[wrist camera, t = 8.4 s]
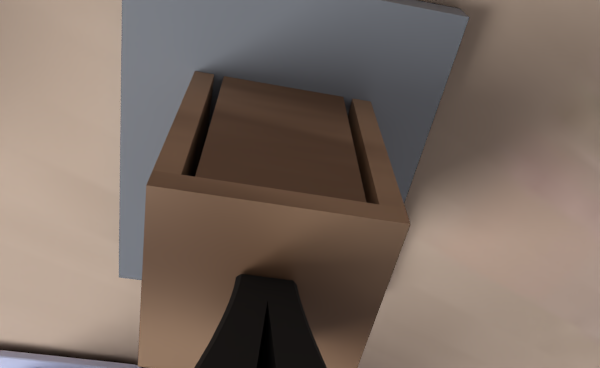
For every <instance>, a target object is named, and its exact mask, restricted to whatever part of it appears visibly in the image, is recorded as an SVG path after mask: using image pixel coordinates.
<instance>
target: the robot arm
mask: <svg viewBox="0 0 600 368" xmlns="http://www.w3.org/2000/svg"><path fill="white" fill-rule="evenodd" d="M0 368H141V367H139V366H138V365H135V364H127V363H117V362H108V361H99V360H89V359H80V358H71V357H61V356H52V355H43V354H34V353H24V352H15V351H6V350H0ZM194 368H327V367H326V364H325V362H324V360H323V358H322V355H321V353H320V351H319V348H318V346H317V344H316V341H315V339H314V337H313V334H312V331H311V329H310V326H309V323H308V321H307V318H306V315H305V312H304V309H303V306H302V303H301V299H300V296H299V292H298V288H297V285H296V283H295V282H294V281H293V280H285V279H277V278H270V277H262V276H254V275H246V274H240V275H238V276H237V277H236V279H235V284H234V288H233V291H232V294H231V297H230V300H229V303H228V305H227V307H226V310H225V312H224V314H223V317H222V319H221V321H220V323H219V325H218V327H217V328H216V330H215V332H214V334H213V336H212V338H211V340H210V342H209V344H208V346H207V347H206V349H205V351H204V352H203V354H202V356H201V357H200V359H199V361H198V362H197V364H196V366H195V367H194Z"/></svg>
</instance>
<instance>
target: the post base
mask: <svg viewBox="0 0 600 368" xmlns="http://www.w3.org/2000/svg"><path fill="white" fill-rule="evenodd" d="M468 20H469V16H467V15H466V14H465V13H464V12H463V11H462V10H461V9H459V8H454V7H449V6H444V5H439V4H433V3H428V2H423V1H418V0H122V51H121V137H120V222H119V277H121V278H129V279H137V280H142V265H143V244H144V222H145V201H146V185H147V182H148V180H149V178H150V175H151V173H152V170H153V168H154V166H155V163H156V161H157V159H158V156H159V154H160V152H161V149H162V147H163V145H164V142H165V140H166V138H167V135H168V133H169V131H170V128H171V126H172V123H173V121H174V119H175V116H176V114H177V112H178V109H179V107H180V105H181V102H182V100H183V98H184V95H185V93H186V91H187V88H188V86H189V84H190V81H191V79H192V76H193V74H194V72H195V71H198V72H203V73H209V74H214V82H213V91H212V100H211V109H210V118H209V127H210V123H211V120H212V116H213V113H214V109H215V106H216V102H217V99H218V95H219V92H220V88H221V85H222V81H223V78H224V76H226V77H232V78H238V79H244V80H249V81H255V82H261V83H267V84H272V85H278V86H284V87H290V88H295V89H301V90H307V91H313V92H318V93H324V94H330V95H336V96H341V97H343V98H344V102H345V107H346V111H347V116H348V114H349V110H350V106H351V102H352V98H353V99H359V100H365V101H370V102H371V104H372V107H373V110H374V113H375V116H376V119H377V123H378V126H379V129H380V132H381V135H382V138H383V141H384V144H385V147H386V150H387V153H388V156H389V160H390V163H391V166H392V169H393V172H394V175H395V178H396V181H397V184H398V187H399V190H400V194H401V197H402V200H403V203H404V202H405V199H406V197H407V194H408V191H409V188H410V185H411V182H412V179H413V177H414V174H415V171H416V168H417V165H418V162H419V159H420V157H421V154H422V151H423V148H424V145H425V142H426V140H427V137H428V134H429V131H430V128H431V125H432V122H433V120H434V117H435V114H436V111H437V108H438V105H439V102H440V100H441V97H442V94H443V91H444V88H445V85H446V82H447V80H448V77H449V74H450V71H451V68H452V65H453V62H454V60H455V57H456V54H457V51H458V48H459V45H460V42H461V40H462V37H463V34H464V31H465V28H466V25H467V23H468ZM209 127H208V130H209Z"/></svg>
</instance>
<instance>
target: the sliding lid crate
mask: <svg viewBox="0 0 600 368" xmlns="http://www.w3.org/2000/svg"><path fill="white" fill-rule="evenodd" d="M213 82H214V74H209V73H203V72H198V71H195V72H194V74H193V76H192V79H191V81H190V84H189V86H188V88H187V91H186V93H185V95H184V98H183V100H182V102H181V105H180V107H179V109H178V112H177V114H176V116H175V119H174V121H173V123H172V126H171V128H170V131H169V133H168V135H167V138H166V140H165V142H164V145H163V147H162V149H161V152H160V154H159V156H158V159H157V161H156V163H155V166H154V168H153V170H152V173H151V175H150V178H149V180H148V182H147V185H146V201H145V222H144V244H143V265H142V287H141V308H140V330H139V351H138V366H139V367H148V368H194V367H195V366H196V364H197V362H198V361H199V359H200V357H201V356H202V354H203V352H204V351H205V349H206V347H207V346H208V344H209V342H210V340H211V338H212V336H213V334H214V332H215V330H216V328H217V327H218V325H219V323H220V321H221V319H222V317H223V314H224V312H225V310H226V307H227V305H228V303H229V300H230V297H231V294H232V291H233V288H234V284H235V279H236V277H237V276H238V275H240V274H246V275H254V276H262V277H270V278H277V279H285V280H293V281H294V282H295V283H296V285H297V288H298V292H299V296H300V299H301V303H302V306H303V309H304V312H305V315H306V318H307V321H308V323H309V326H310V329H311V331H312V334H313V337H314V339H315V341H316V344H317V346H318V348H319V351H320V353H321V355H322V358H323V360H324V362H325V364H326V367H327V368H357V367H358V364H359V361H360V359H361V356H362V353H363V351H364V348H365V345H366V343H367V340H368V337H369V335H370V332H371V329H372V326H373V324H374V321H375V318H376V316H377V313H378V310H379V308H380V305H381V302H382V300H383V297H384V294H385V291H386V289H387V286H388V283H389V281H390V278H391V275H392V273H393V270H394V267H395V265H396V262H397V259H398V257H399V254H400V251H401V248H402V246H403V243H404V240H405V238H406V235H407V232H408V230H409V227H410V221H409V218H408V215H407V212H406V209H405V206H404V203H403V200H402V197H401V194H400V190H399V187H398V184H397V181H396V178H395V175H394V172H393V169H392V166H391V163H390V160H389V156H388V153H387V150H386V147H385V144H384V141H383V138H382V135H381V132H380V129H379V126H378V123H377V119H376V116H375V113H374V110H373V107H372V104H371V102H370V101H365V100H359V99H353V98H352V102H351V106H350V110H349V114H348V116H347V111H346V107H345V102H344V98H343V97H341V96H336V95H330V94H324V93H318V92H313V91H307V90H301V89H295V88H290V87H284V86H278V85H272V84H267V83H261V82H255V81H249V80H244V79H238V78H232V77H226V76H224V78H223V81H222V85H221V88H220V92H219V95H218V99H217V102H216V106H215V109H214V113H213V116H212V120H211V123H210V127H209V118H210V109H211V100H212V91H213ZM208 127H209V130H208Z"/></svg>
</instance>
